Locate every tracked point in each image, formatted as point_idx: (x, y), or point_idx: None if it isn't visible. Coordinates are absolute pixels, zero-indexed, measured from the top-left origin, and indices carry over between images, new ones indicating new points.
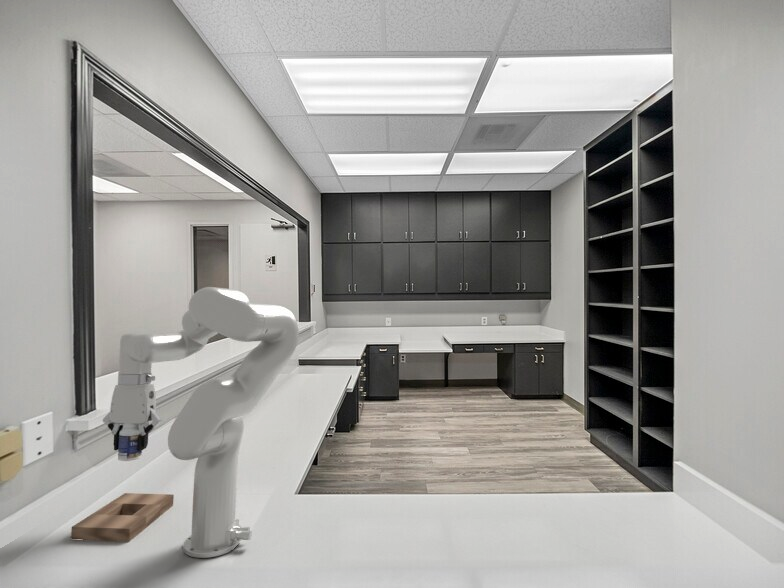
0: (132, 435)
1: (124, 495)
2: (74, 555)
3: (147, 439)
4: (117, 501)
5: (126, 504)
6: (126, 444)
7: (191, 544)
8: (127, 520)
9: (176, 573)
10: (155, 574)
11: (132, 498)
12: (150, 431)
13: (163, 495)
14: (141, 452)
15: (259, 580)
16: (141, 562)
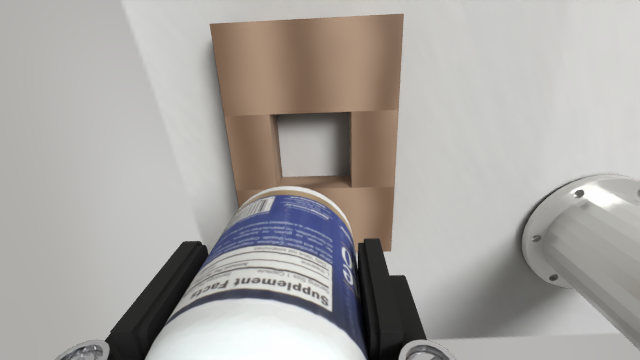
0: None
1: (225, 47)
2: None
3: (414, 312)
4: (240, 100)
5: (282, 113)
6: None
7: (548, 263)
8: (358, 214)
9: (533, 318)
10: (496, 322)
11: (271, 69)
12: (453, 358)
13: (368, 28)
14: (352, 238)
15: None
16: (453, 295)
